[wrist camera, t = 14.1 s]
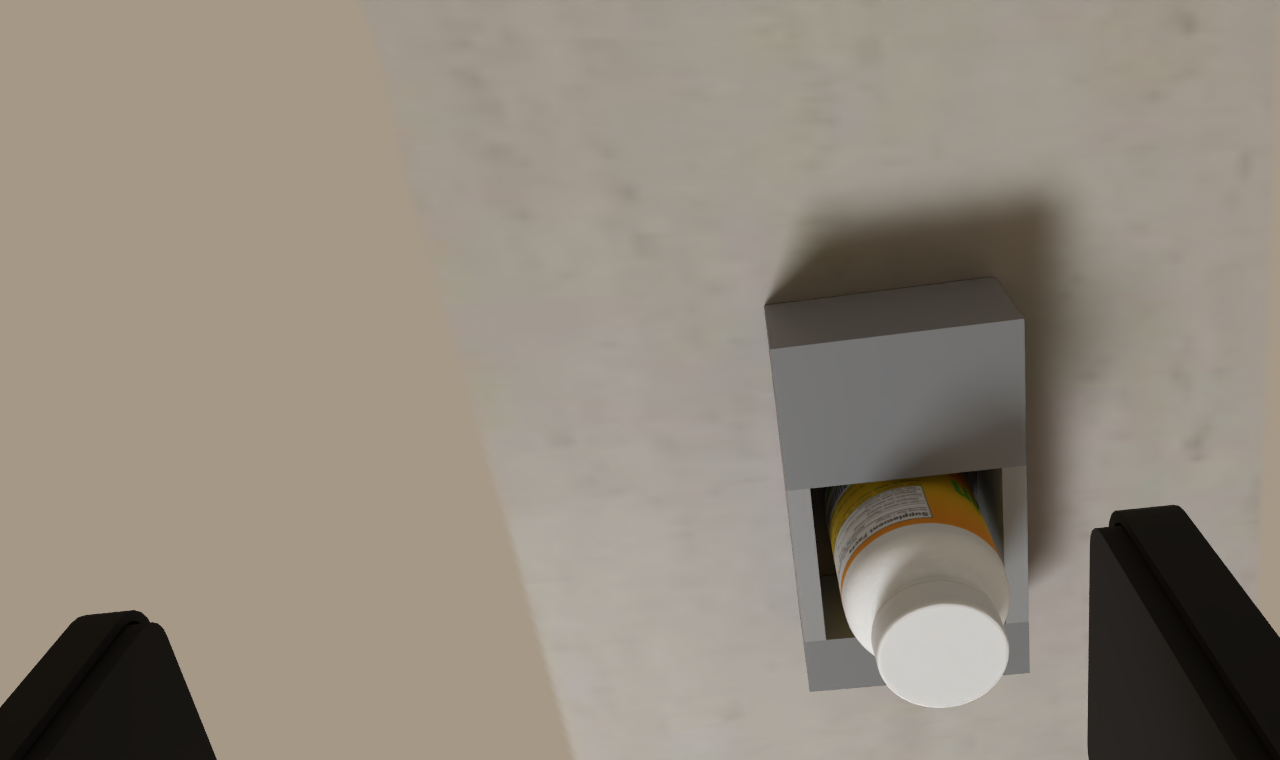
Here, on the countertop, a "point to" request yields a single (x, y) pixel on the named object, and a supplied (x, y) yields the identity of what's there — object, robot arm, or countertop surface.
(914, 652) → the supplement bottle
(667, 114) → the countertop surface
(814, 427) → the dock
